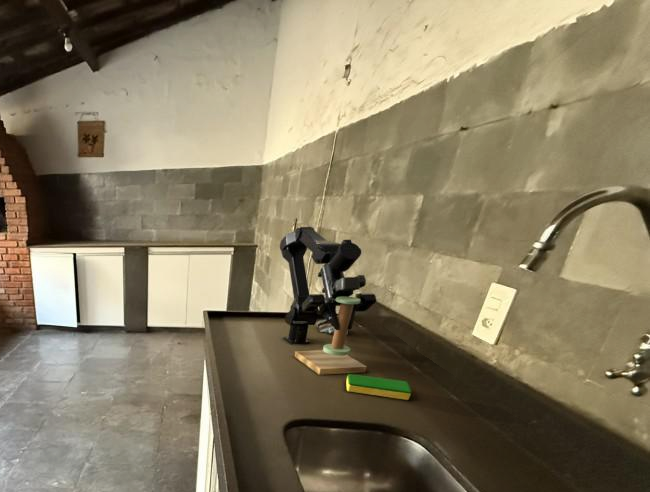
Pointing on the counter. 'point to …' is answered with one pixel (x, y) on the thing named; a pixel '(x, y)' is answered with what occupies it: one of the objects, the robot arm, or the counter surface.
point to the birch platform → (329, 362)
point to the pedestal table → (346, 349)
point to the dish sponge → (378, 386)
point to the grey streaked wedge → (326, 326)
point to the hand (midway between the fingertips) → (343, 329)
